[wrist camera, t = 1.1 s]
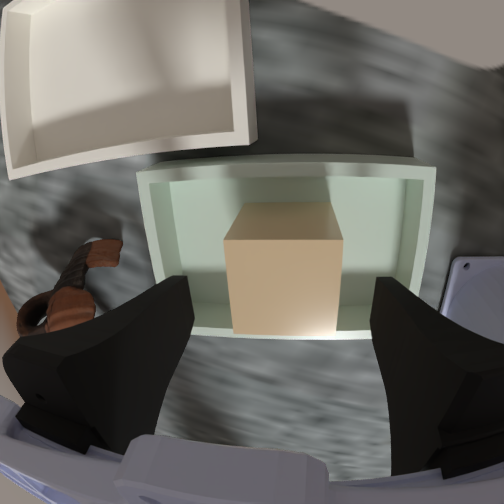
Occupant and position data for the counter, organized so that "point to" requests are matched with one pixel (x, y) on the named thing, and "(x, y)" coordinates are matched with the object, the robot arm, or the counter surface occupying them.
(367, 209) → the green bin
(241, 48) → the cream bin
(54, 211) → the counter surface
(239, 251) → the sandstone block
